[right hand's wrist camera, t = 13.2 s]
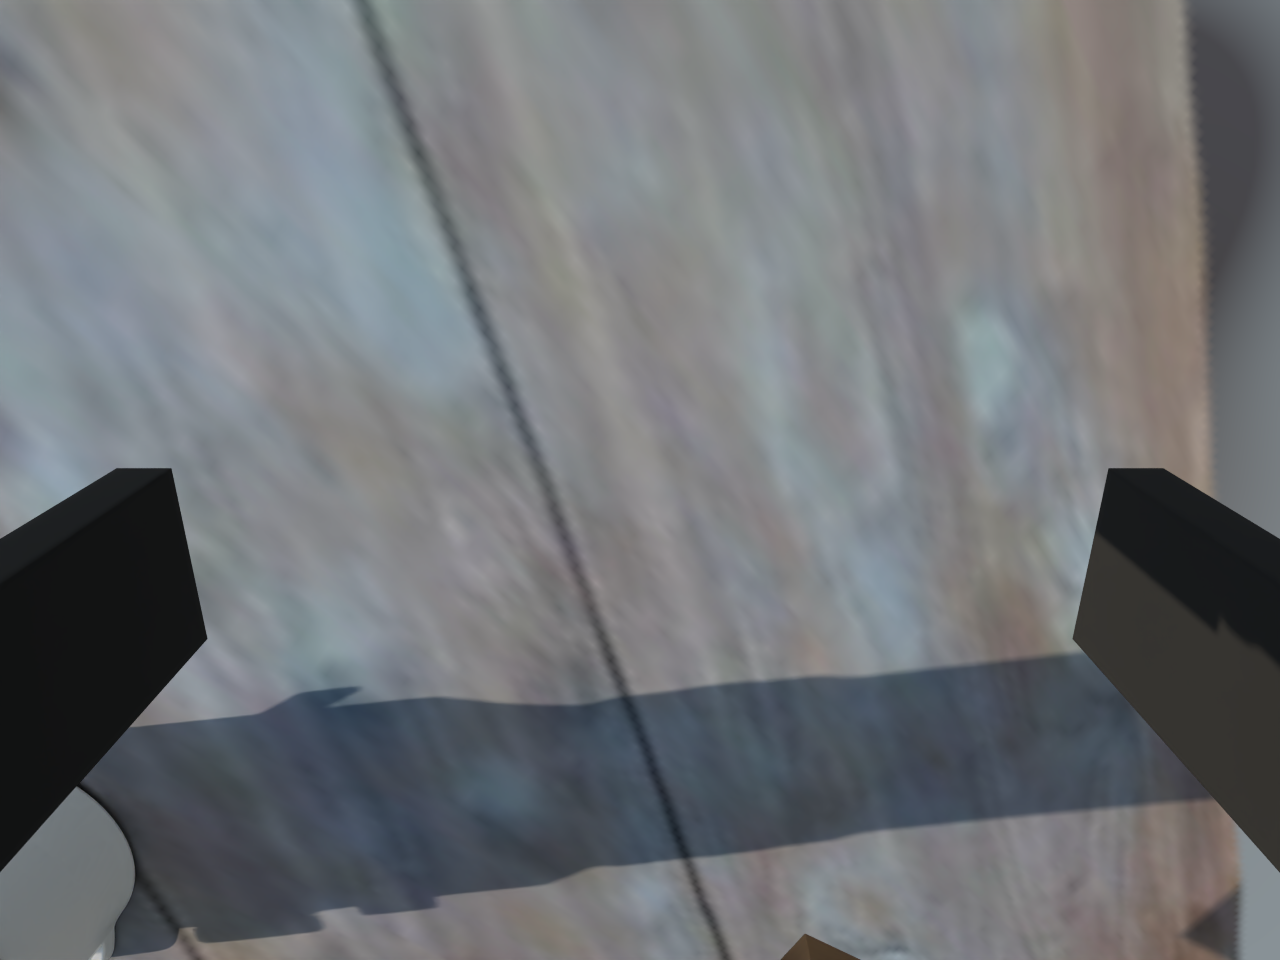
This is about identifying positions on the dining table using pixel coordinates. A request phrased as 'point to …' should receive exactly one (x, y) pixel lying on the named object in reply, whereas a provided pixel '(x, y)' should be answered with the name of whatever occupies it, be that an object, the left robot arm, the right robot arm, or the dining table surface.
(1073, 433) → the dining table surface
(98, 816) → the left robot arm
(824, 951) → the bar
